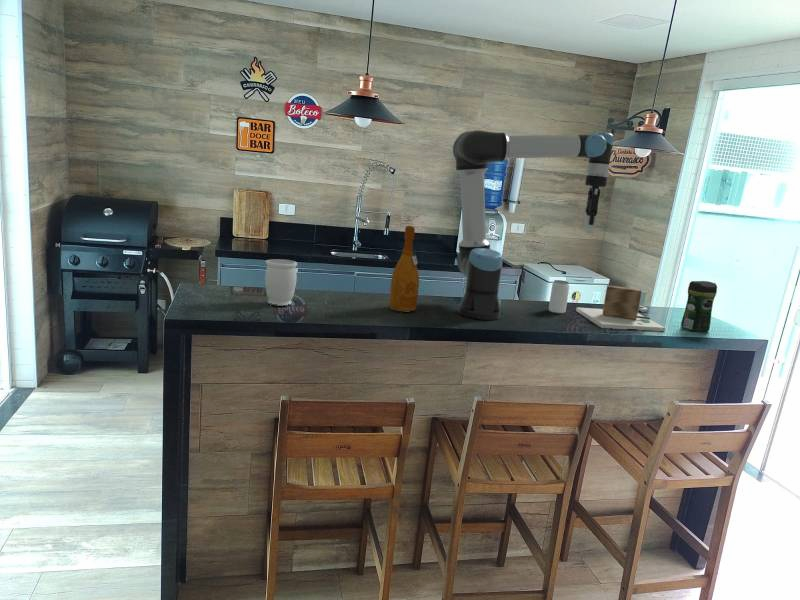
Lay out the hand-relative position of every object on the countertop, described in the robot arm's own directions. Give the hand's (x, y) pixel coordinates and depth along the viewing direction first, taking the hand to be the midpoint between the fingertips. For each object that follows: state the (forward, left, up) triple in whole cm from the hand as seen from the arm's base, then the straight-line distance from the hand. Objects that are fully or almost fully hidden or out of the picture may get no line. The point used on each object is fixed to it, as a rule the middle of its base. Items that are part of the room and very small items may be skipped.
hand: (587, 232), depth 227 cm
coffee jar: (+40, -17, -32) cm, 54 cm away
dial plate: (+13, -11, -32) cm, 36 cm away
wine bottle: (-70, -15, -32) cm, 78 cm away
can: (-8, -2, -32) cm, 33 cm away
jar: (-113, -18, -32) cm, 119 cm away
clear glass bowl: (+32, +10, -32) cm, 47 cm away
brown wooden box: (+15, -12, -30) cm, 35 cm away
